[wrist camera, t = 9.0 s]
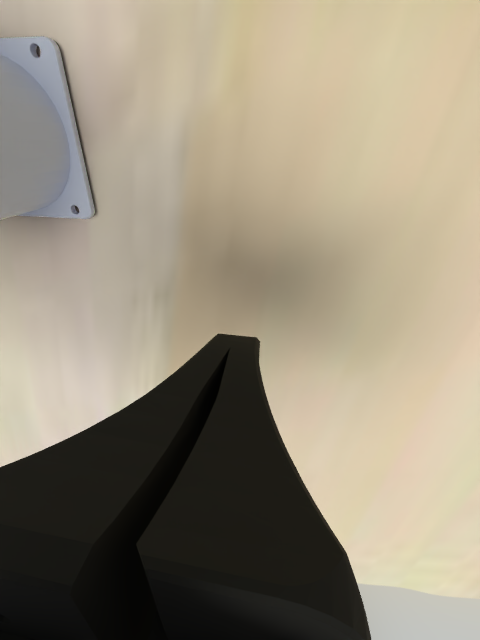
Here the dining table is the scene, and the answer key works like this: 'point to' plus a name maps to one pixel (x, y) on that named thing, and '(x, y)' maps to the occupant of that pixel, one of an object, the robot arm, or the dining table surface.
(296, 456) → the dining table surface
